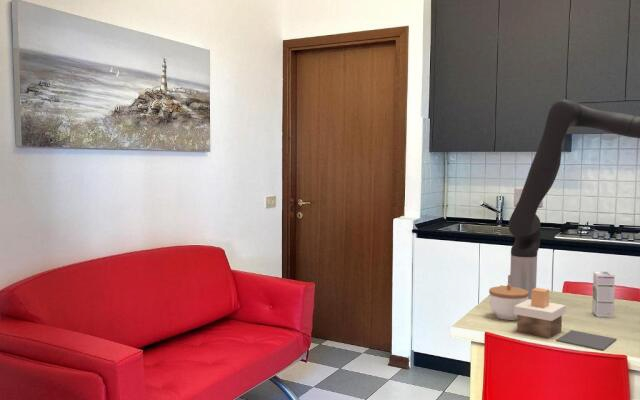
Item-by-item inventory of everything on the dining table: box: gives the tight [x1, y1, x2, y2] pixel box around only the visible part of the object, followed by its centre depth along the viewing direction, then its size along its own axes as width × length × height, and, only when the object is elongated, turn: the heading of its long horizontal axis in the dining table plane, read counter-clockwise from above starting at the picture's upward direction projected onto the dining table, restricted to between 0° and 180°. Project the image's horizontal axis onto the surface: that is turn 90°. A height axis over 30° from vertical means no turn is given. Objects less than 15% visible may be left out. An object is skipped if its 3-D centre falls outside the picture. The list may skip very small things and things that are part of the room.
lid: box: [514, 287, 567, 321], centre depth 186 cm, size 12×12×8 cm
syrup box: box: [591, 271, 616, 318], centre depth 206 cm, size 6×6×14 cm
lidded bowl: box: [488, 283, 529, 321], centre depth 203 cm, size 13×13×11 cm
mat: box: [555, 329, 617, 351], centre depth 178 cm, size 13×13×1 cm
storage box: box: [516, 315, 563, 339], centre depth 187 cm, size 10×10×7 cm
